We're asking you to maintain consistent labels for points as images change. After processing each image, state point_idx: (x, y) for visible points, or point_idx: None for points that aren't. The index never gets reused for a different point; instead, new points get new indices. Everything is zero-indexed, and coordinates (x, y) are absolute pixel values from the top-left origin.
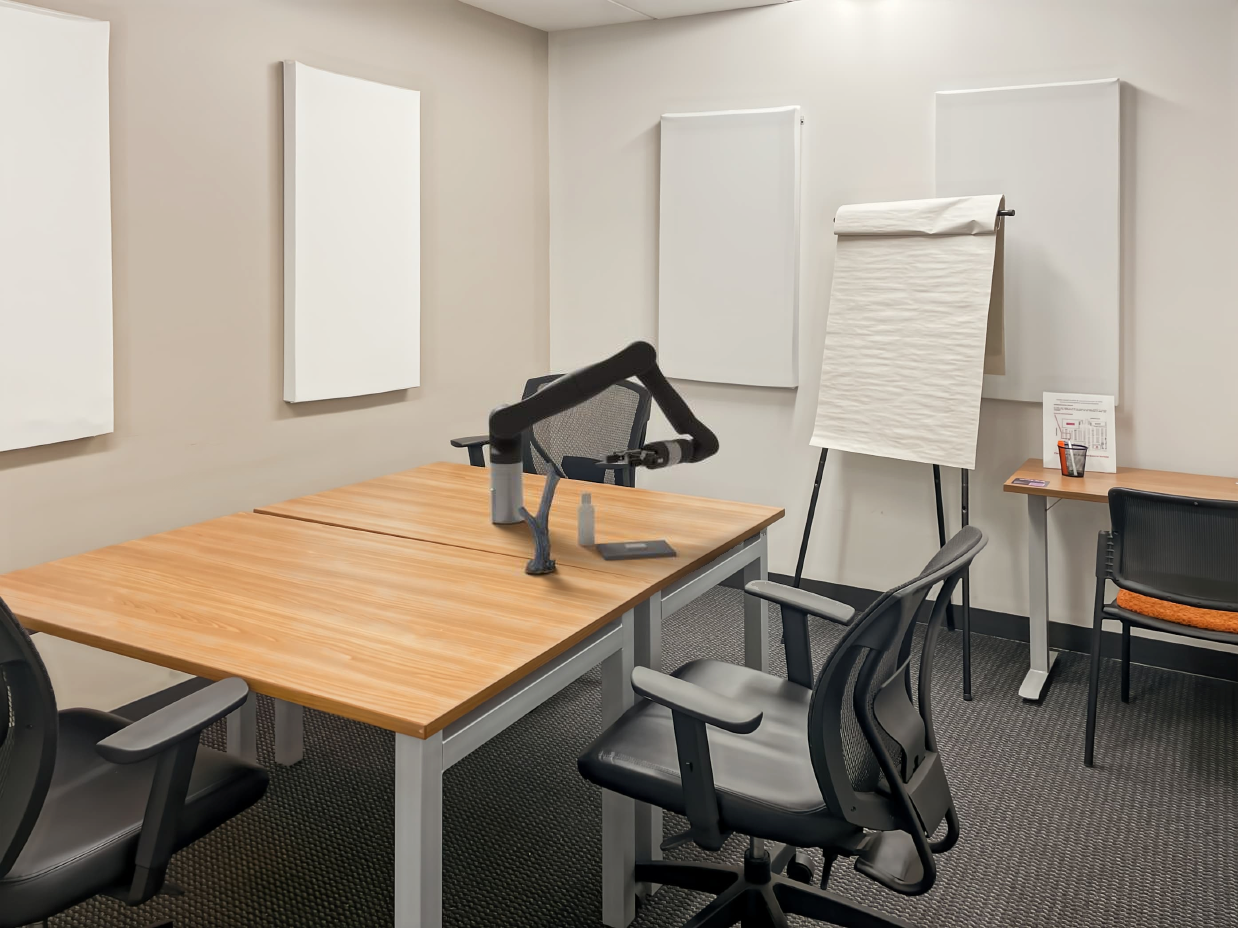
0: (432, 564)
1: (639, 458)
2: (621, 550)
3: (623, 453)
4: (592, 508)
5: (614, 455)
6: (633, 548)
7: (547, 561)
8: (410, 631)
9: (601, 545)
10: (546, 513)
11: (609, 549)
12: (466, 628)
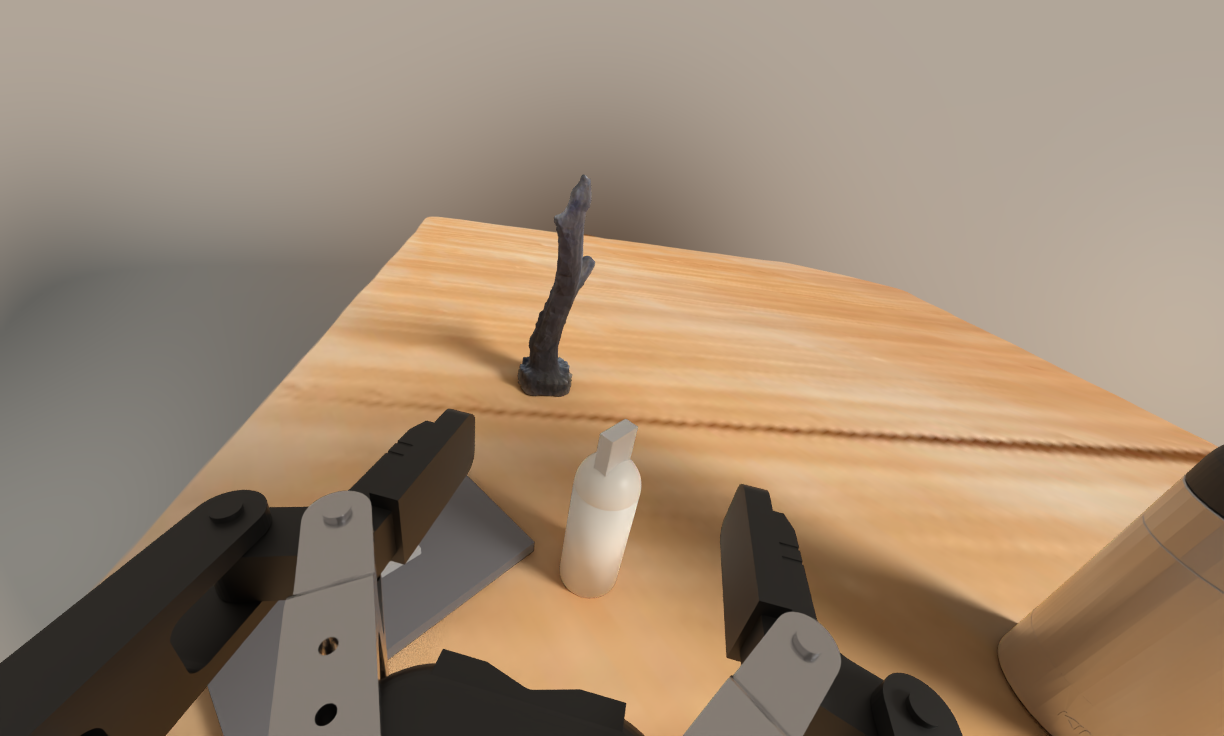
0: (714, 362)
1: (371, 491)
2: None
3: (742, 672)
4: (578, 473)
5: (748, 550)
6: None
7: (528, 360)
8: (540, 264)
9: (507, 531)
10: (553, 285)
11: (462, 508)
12: (497, 269)
